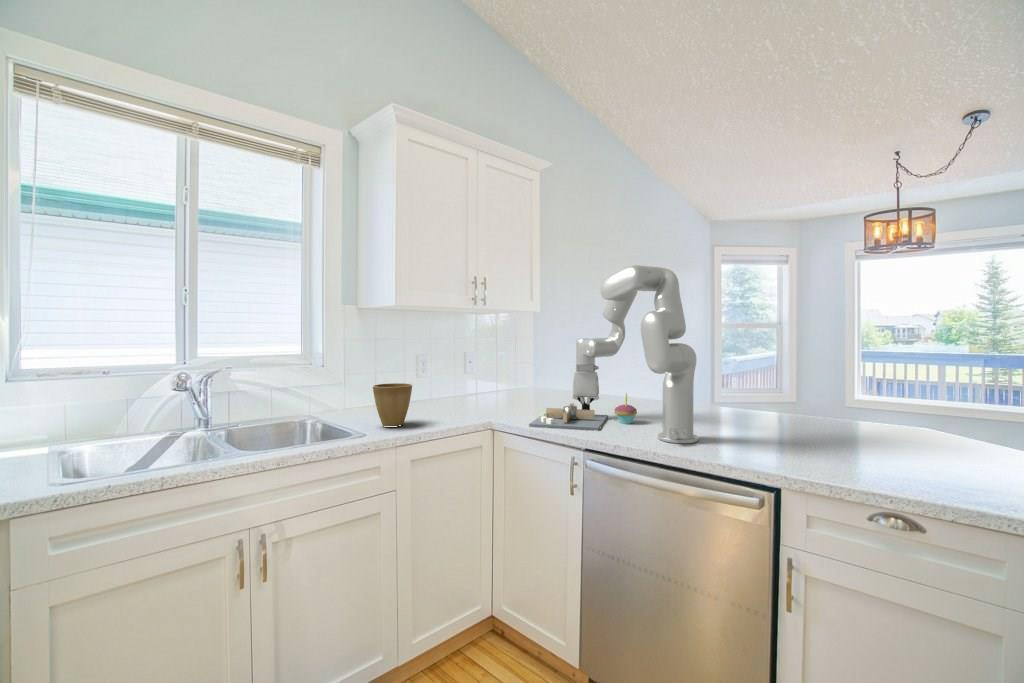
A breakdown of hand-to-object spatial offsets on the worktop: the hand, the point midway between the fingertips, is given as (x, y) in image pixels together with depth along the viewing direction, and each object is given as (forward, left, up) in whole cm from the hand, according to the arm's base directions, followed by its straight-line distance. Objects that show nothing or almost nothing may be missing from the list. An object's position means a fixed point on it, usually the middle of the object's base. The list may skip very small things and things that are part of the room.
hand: (585, 413), depth 190 cm
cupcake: (-4, -16, -2) cm, 17 cm away
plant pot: (-34, +69, -2) cm, 77 cm away
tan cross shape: (-8, +5, -1) cm, 9 cm away
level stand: (-8, +5, -2) cm, 9 cm away
